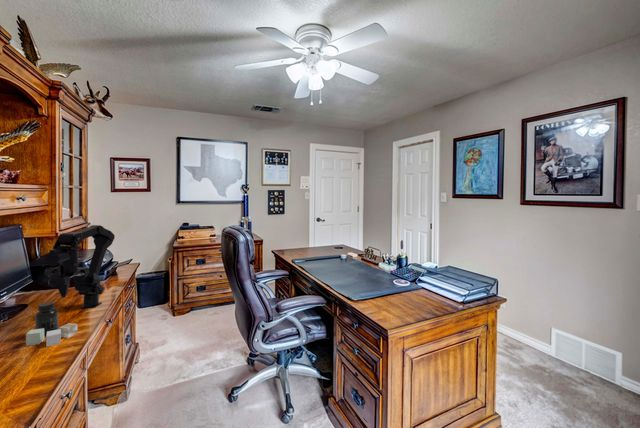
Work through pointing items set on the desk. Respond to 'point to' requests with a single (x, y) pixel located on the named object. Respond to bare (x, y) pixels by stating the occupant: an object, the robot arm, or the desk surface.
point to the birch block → (68, 330)
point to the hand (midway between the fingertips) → (70, 293)
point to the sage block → (34, 337)
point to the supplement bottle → (46, 317)
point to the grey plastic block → (53, 337)
